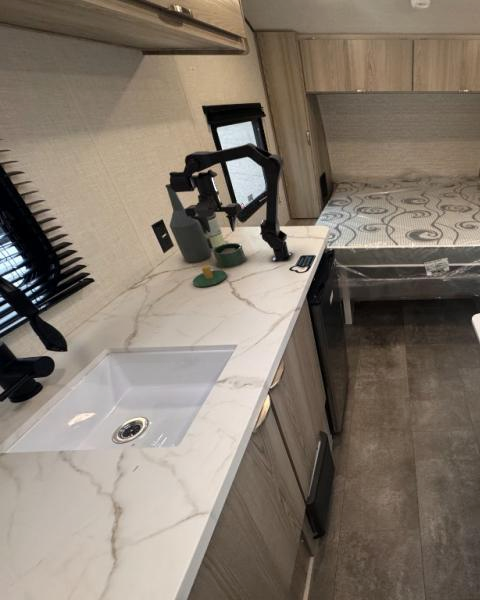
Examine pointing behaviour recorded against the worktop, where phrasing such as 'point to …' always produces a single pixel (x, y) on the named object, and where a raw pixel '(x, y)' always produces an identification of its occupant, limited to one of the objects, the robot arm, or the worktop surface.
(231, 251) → the block
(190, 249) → the bottle
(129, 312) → the worktop surface
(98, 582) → the worktop surface
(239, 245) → the tin
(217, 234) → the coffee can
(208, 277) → the lid
